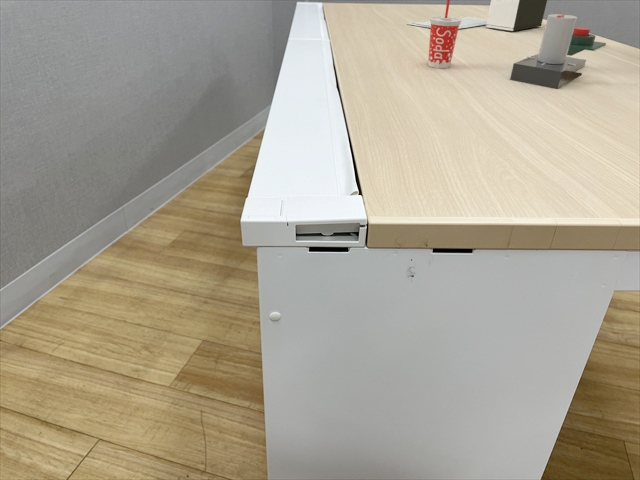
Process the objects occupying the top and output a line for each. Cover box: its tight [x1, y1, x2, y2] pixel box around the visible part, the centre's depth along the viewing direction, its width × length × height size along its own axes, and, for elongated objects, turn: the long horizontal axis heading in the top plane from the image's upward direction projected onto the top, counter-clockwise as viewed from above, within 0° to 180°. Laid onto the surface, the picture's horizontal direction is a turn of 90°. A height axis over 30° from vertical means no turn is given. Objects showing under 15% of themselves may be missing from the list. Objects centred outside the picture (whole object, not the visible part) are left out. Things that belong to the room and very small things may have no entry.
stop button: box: [573, 26, 591, 36], centre depth 115 cm, size 4×4×2 cm
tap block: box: [509, 53, 587, 89], centre depth 95 cm, size 14×9×3 cm, turn 139°
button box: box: [567, 33, 607, 57], centre depth 116 cm, size 10×10×4 cm
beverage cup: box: [427, 0, 461, 69], centre depth 99 cm, size 6×6×14 cm
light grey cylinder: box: [537, 13, 578, 64], centre depth 92 cm, size 5×5×8 cm
